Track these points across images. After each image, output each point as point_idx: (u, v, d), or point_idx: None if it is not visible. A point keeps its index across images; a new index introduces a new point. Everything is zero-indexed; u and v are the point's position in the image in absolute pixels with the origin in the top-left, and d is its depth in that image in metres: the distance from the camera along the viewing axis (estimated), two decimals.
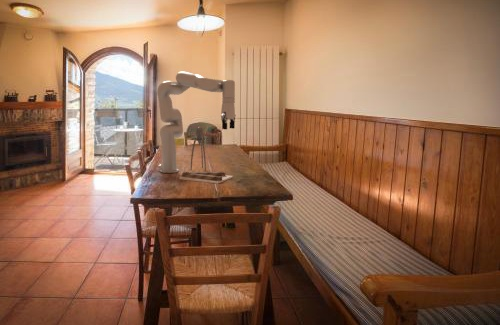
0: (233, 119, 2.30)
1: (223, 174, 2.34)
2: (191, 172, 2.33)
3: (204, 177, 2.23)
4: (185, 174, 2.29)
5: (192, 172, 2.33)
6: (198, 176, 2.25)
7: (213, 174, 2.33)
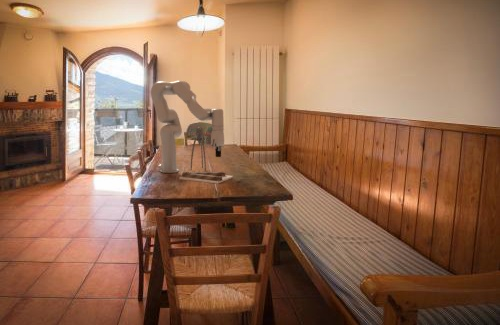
0: (220, 147, 2.38)
1: (223, 174, 2.34)
2: (191, 172, 2.33)
3: (204, 177, 2.23)
4: (185, 174, 2.29)
5: (192, 172, 2.33)
6: (198, 176, 2.25)
7: (213, 174, 2.33)
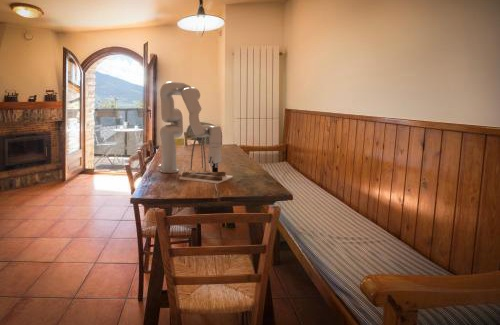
0: (217, 163, 2.37)
1: (223, 174, 2.33)
2: (191, 172, 2.33)
3: (204, 177, 2.23)
4: (185, 174, 2.29)
5: (192, 172, 2.33)
6: (198, 176, 2.25)
7: (213, 174, 2.33)
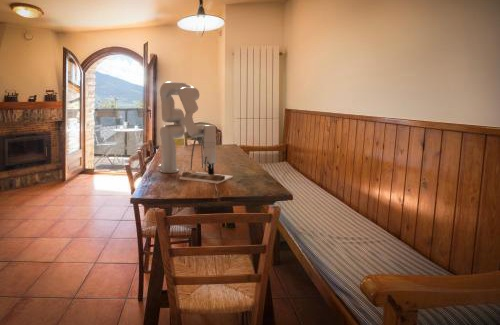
0: (213, 164, 2.29)
1: None
2: None
3: (204, 177, 2.23)
4: (185, 174, 2.29)
5: (194, 172, 2.31)
6: (198, 176, 2.25)
7: None
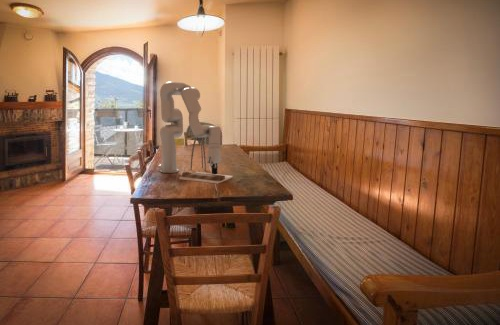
0: (217, 164, 2.37)
1: None
2: None
3: (204, 177, 2.23)
4: (185, 174, 2.29)
5: (194, 172, 2.31)
6: (198, 176, 2.25)
7: None
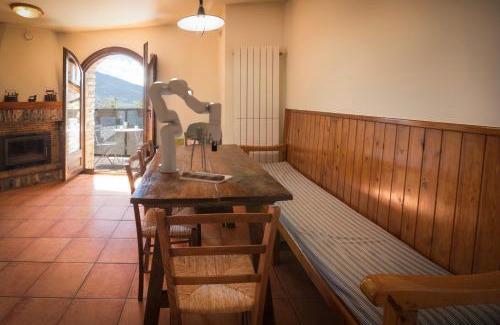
0: (217, 141, 2.35)
1: None
2: None
3: (204, 177, 2.23)
4: (185, 174, 2.29)
5: (194, 172, 2.31)
6: (198, 176, 2.25)
7: None
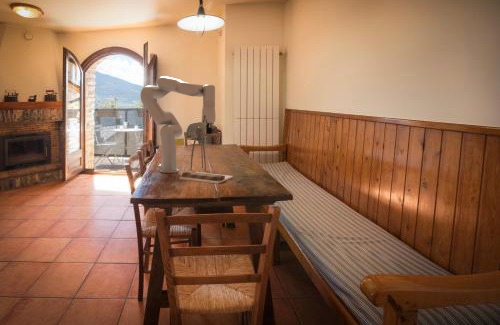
0: (211, 123, 2.36)
1: None
2: None
3: (204, 177, 2.23)
4: (185, 174, 2.29)
5: (194, 172, 2.31)
6: (198, 176, 2.25)
7: None
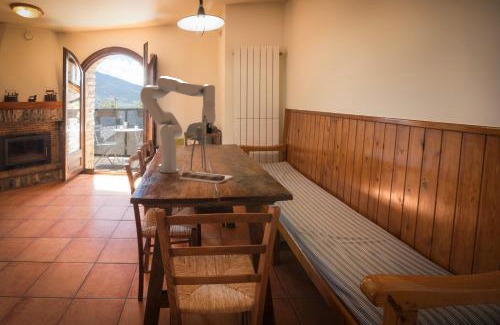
0: (211, 123, 2.36)
1: None
2: None
3: (204, 177, 2.23)
4: (185, 174, 2.29)
5: (194, 172, 2.31)
6: (198, 176, 2.25)
7: None
